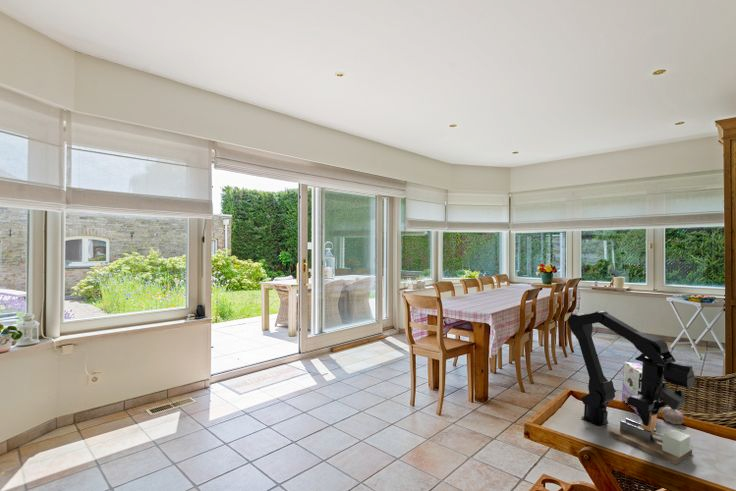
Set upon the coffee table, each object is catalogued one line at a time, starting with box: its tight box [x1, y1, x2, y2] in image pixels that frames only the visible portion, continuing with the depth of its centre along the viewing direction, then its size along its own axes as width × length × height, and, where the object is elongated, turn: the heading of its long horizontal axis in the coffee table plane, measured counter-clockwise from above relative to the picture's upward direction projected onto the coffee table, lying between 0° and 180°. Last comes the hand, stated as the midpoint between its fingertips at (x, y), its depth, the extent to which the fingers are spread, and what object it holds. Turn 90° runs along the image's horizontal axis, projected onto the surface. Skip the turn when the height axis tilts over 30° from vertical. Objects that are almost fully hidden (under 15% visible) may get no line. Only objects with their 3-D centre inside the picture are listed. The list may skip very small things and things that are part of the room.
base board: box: [608, 425, 693, 465], centre depth 127 cm, size 19×12×2 cm, turn 31°
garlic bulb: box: [660, 406, 685, 425], centre depth 144 cm, size 8×7×8 cm
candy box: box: [621, 361, 643, 415], centre depth 154 cm, size 14×6×16 cm, turn 168°
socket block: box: [662, 428, 691, 457], centre depth 121 cm, size 4×7×5 cm, turn 121°
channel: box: [619, 417, 657, 442], centre depth 130 cm, size 9×4×3 cm, turn 31°
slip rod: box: [638, 412, 663, 443], centre depth 126 cm, size 10×4×8 cm, turn 31°
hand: (648, 424), depth 127 cm, fingers closed on slip rod, 4 cm apart
